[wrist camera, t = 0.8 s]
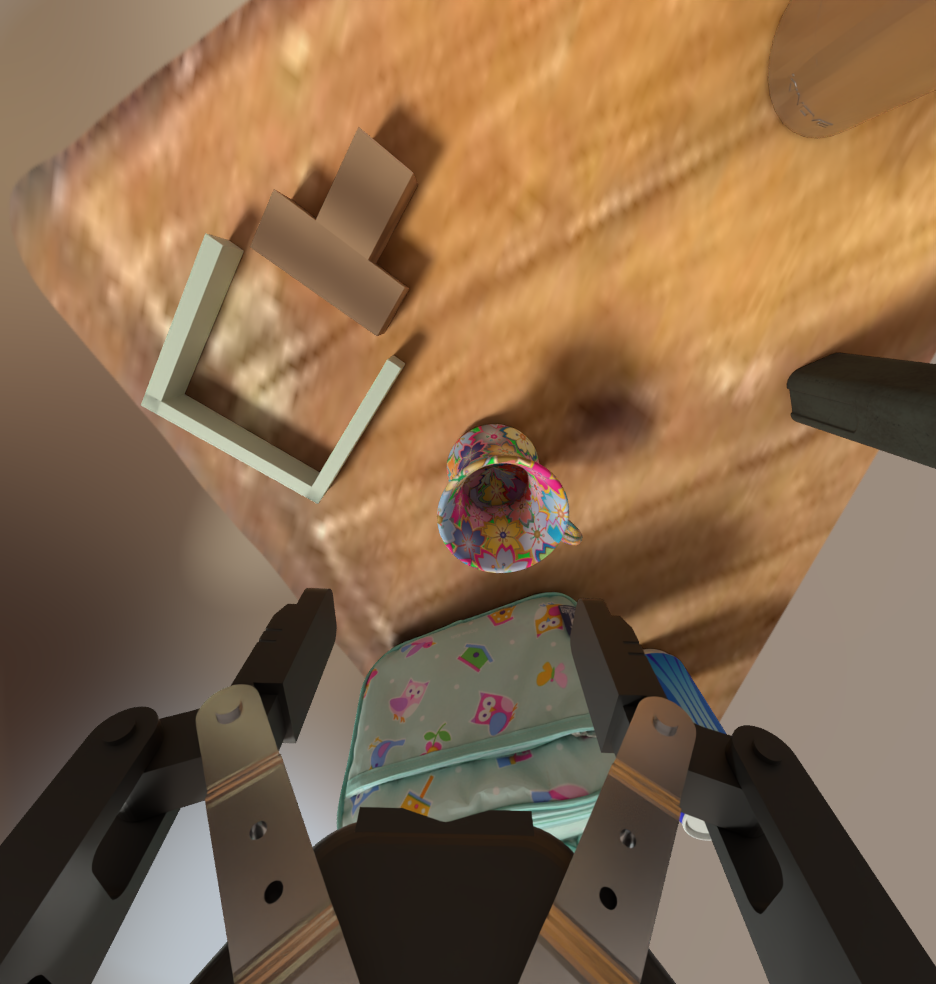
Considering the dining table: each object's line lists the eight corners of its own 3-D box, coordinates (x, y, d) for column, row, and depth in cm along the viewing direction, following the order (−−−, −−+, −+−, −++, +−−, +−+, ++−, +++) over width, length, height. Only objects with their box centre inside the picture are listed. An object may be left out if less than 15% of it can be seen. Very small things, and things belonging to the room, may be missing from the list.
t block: (329, 110, 27) (314, 89, 24) (452, 214, 30) (451, 205, 27) (269, 251, 31) (249, 247, 28) (384, 333, 33) (376, 336, 30)
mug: (426, 486, 39) (416, 545, 29) (469, 399, 35) (473, 433, 26) (534, 533, 41) (557, 602, 32) (584, 455, 38) (627, 506, 28)
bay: (228, 240, 30) (205, 233, 27) (405, 363, 34) (400, 368, 31) (165, 397, 35) (140, 405, 32) (327, 490, 39) (317, 504, 36)
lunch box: (583, 566, 43) (686, 780, 24) (608, 633, 47) (714, 864, 28) (363, 645, 47) (295, 883, 28) (404, 700, 51) (369, 943, 32)
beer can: (665, 696, 52) (746, 849, 37) (601, 690, 51) (659, 843, 36) (689, 647, 48) (790, 794, 34) (622, 640, 47) (695, 787, 33)
